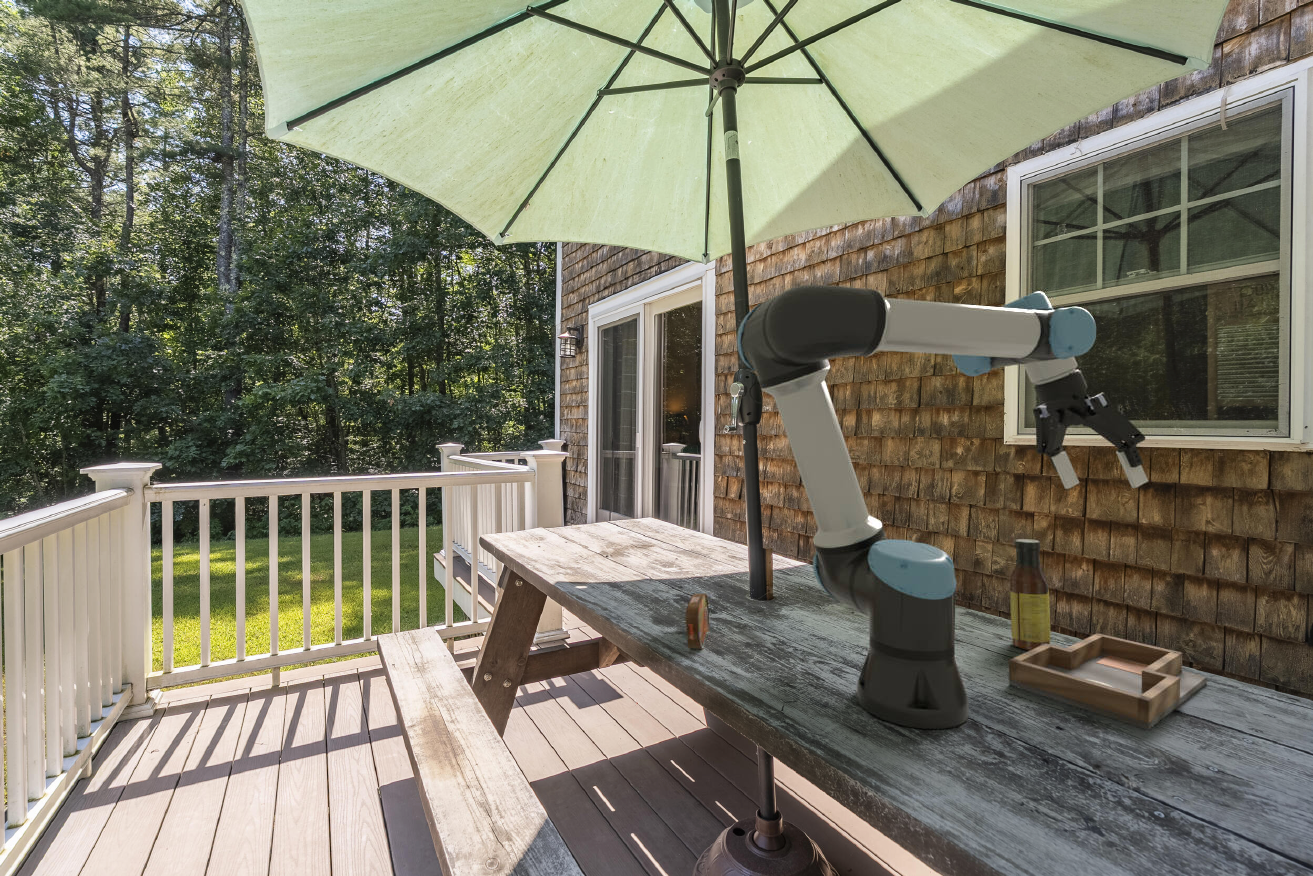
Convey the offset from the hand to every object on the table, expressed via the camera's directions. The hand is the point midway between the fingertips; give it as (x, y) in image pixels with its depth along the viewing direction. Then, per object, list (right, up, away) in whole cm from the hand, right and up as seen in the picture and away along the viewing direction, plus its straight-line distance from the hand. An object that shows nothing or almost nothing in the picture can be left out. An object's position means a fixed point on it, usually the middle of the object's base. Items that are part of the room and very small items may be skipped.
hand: (1104, 485), depth 109 cm
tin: (-72, -31, +9) cm, 79 cm away
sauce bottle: (-10, -31, +5) cm, 33 cm away
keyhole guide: (-8, -31, -12) cm, 34 cm away
